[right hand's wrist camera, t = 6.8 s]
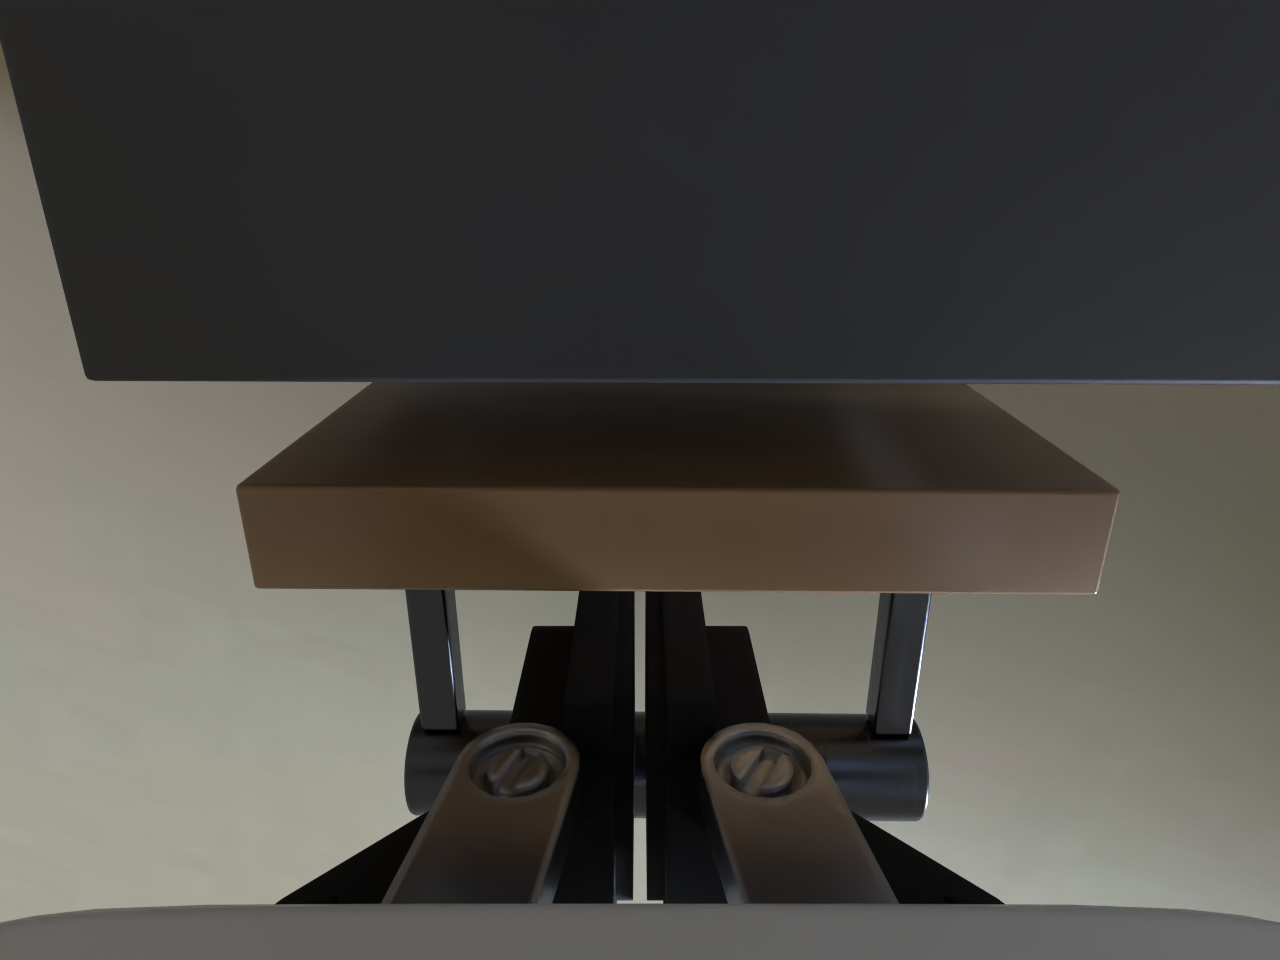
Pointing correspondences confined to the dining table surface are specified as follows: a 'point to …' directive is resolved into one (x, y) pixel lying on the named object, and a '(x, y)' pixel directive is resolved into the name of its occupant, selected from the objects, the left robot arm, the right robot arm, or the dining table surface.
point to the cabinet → (660, 188)
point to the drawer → (680, 526)
